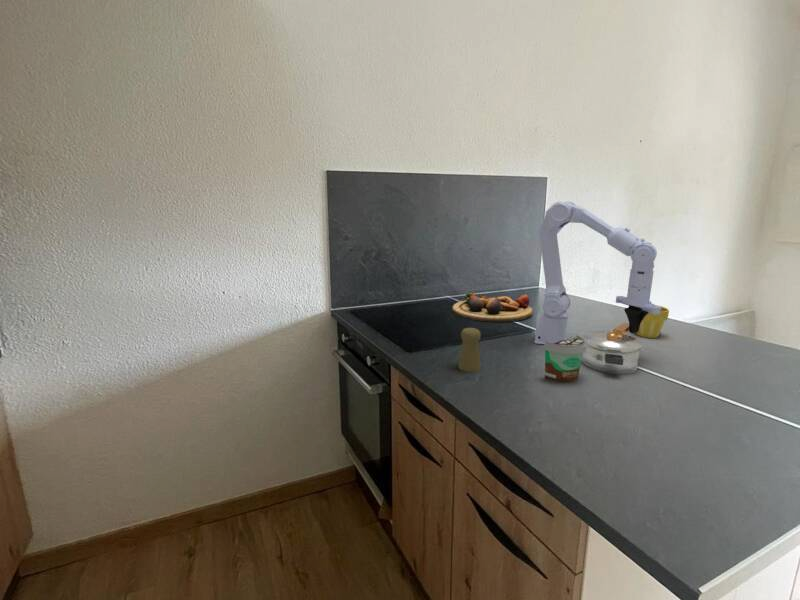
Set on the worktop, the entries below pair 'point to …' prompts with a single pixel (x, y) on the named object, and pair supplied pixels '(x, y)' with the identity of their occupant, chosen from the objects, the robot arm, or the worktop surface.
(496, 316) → the wooden plate with food
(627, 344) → the lid
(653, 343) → the worktop surface
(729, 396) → the worktop surface
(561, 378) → the food container
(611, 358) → the cooker pot
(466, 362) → the cork
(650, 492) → the worktop surface
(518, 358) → the worktop surface
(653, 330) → the plant pot
